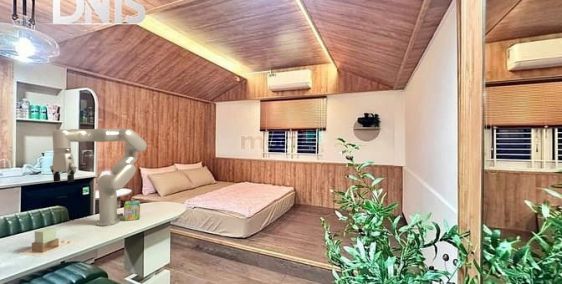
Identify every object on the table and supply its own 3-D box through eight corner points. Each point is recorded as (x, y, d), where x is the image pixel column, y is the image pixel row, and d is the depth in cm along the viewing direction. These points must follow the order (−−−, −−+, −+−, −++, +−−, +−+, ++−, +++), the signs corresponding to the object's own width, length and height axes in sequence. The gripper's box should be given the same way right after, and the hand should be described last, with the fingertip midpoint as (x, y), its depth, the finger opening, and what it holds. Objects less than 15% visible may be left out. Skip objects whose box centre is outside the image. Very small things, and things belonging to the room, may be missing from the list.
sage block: (47, 238, 128) (47, 227, 127) (55, 239, 126) (55, 228, 126) (34, 242, 122) (34, 231, 122) (43, 243, 121) (43, 232, 121)
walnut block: (48, 245, 129) (48, 237, 128) (58, 246, 127) (58, 238, 127) (31, 251, 122) (31, 243, 122) (42, 252, 120) (42, 244, 120)
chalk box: (125, 217, 176) (125, 196, 175) (140, 215, 180) (140, 195, 179) (123, 221, 167) (123, 199, 167) (139, 219, 171) (139, 198, 171)
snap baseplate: (58, 240, 137) (58, 237, 137) (79, 243, 133) (79, 240, 133) (17, 255, 119) (17, 252, 119) (39, 259, 116) (39, 255, 116)
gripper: (81, 151, 144) (82, 180, 144) (57, 150, 147) (58, 179, 148) (67, 152, 136) (69, 183, 137) (42, 151, 140) (44, 182, 141)
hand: (63, 181), depth 142 cm, fingers open, 9 cm apart
